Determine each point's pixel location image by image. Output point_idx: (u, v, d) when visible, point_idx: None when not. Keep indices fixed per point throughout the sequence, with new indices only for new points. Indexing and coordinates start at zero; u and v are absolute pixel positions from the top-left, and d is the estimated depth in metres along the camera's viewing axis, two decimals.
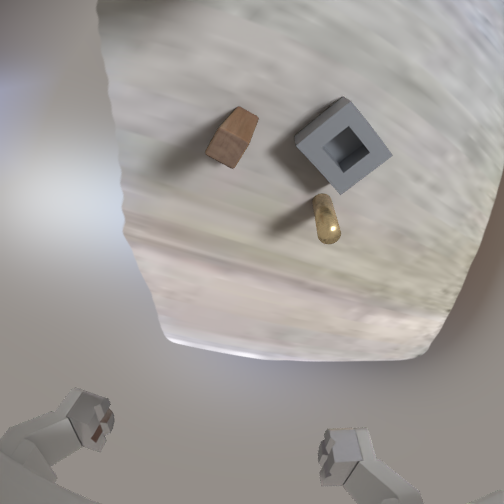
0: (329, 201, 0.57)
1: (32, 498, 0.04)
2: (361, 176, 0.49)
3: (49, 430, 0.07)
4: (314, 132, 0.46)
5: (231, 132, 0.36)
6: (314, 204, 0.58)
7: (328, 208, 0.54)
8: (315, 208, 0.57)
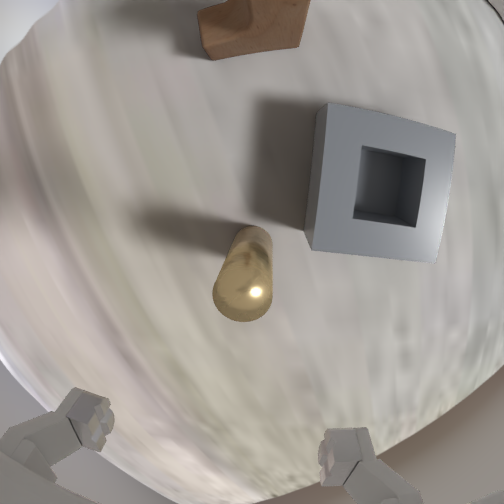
0: None
1: (32, 498, 0.04)
2: (370, 251, 0.24)
3: (49, 430, 0.07)
4: (374, 114, 0.21)
5: None
6: (244, 233, 0.29)
7: (268, 253, 0.25)
8: (243, 238, 0.27)
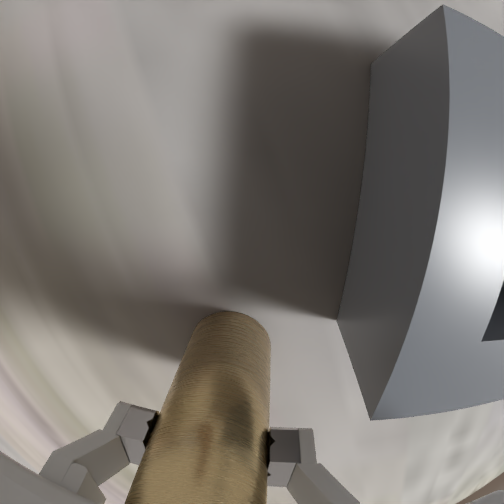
0: (268, 378, 0.12)
1: (32, 498, 0.04)
2: (488, 396, 0.08)
3: (99, 451, 0.07)
4: None
5: None
6: (205, 342, 0.12)
7: (258, 429, 0.08)
8: (198, 369, 0.10)
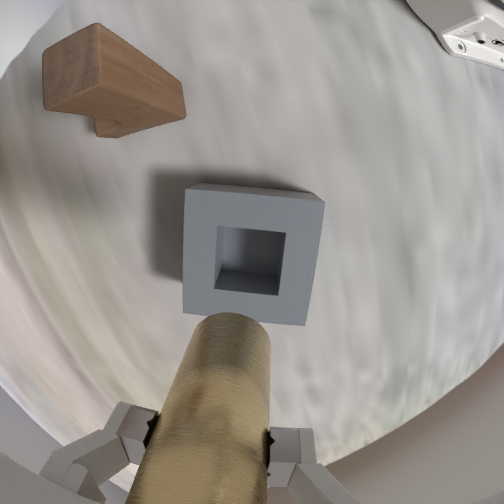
0: (268, 379, 0.12)
1: (32, 498, 0.04)
2: None
3: (99, 451, 0.07)
4: (229, 195, 0.26)
5: (99, 43, 0.12)
6: (205, 343, 0.12)
7: (258, 430, 0.08)
8: (198, 370, 0.10)
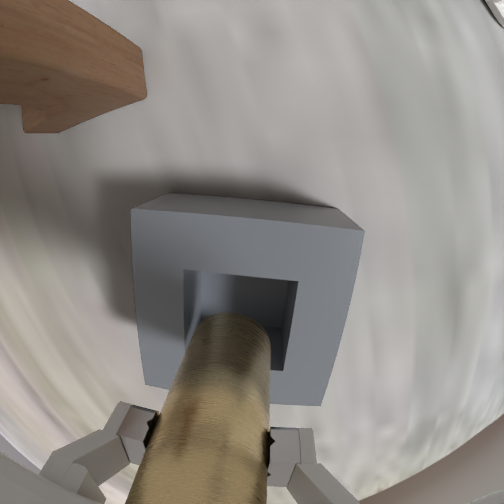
0: (268, 379, 0.12)
1: (32, 498, 0.04)
2: None
3: (99, 451, 0.07)
4: (201, 219, 0.15)
5: None
6: (205, 343, 0.12)
7: (258, 430, 0.08)
8: (198, 370, 0.10)
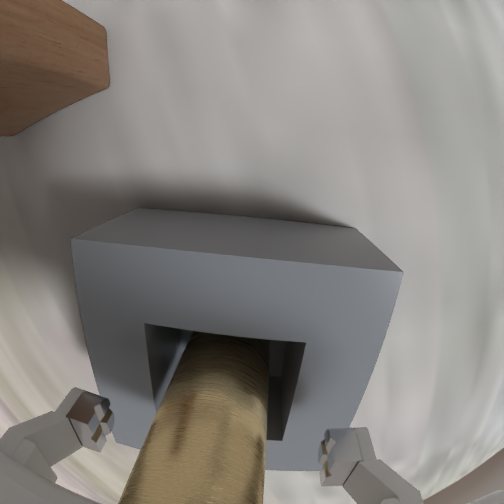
0: (268, 358, 0.13)
1: (32, 498, 0.04)
2: None
3: (49, 430, 0.07)
4: (163, 256, 0.10)
5: None
6: None
7: (258, 398, 0.10)
8: (204, 345, 0.12)
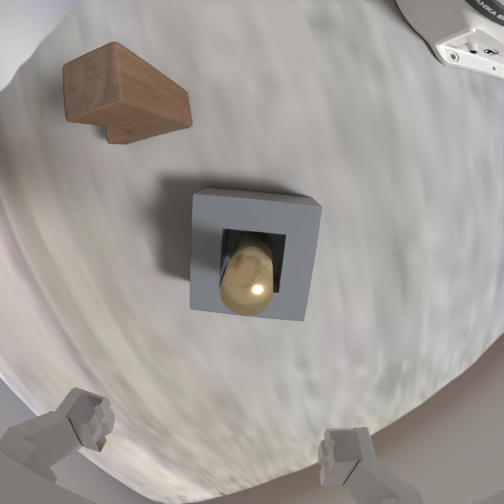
0: (271, 251, 0.31)
1: (32, 498, 0.04)
2: None
3: (49, 430, 0.07)
4: (233, 200, 0.28)
5: (118, 62, 0.14)
6: (246, 236, 0.31)
7: (268, 255, 0.28)
8: (245, 240, 0.30)
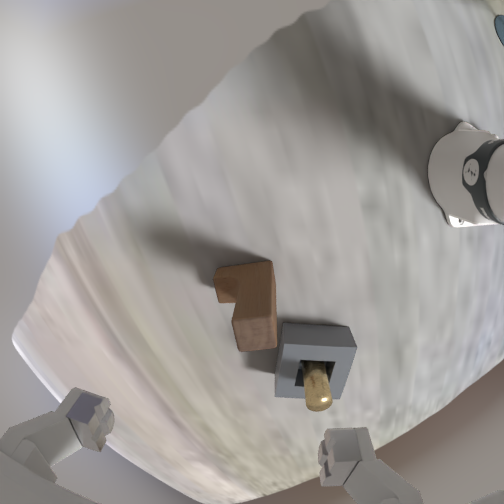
0: (324, 364, 0.49)
1: (32, 498, 0.04)
2: (303, 396, 0.49)
3: (49, 430, 0.07)
4: (308, 346, 0.46)
5: (273, 328, 0.32)
6: None
7: (326, 374, 0.46)
8: (311, 363, 0.48)
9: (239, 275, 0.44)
